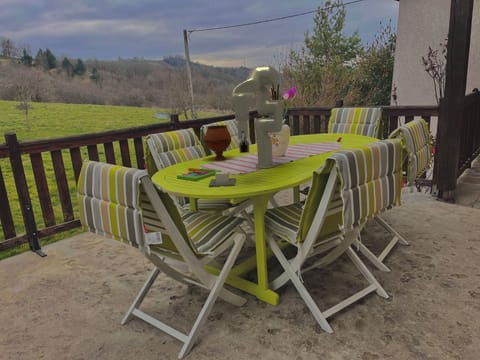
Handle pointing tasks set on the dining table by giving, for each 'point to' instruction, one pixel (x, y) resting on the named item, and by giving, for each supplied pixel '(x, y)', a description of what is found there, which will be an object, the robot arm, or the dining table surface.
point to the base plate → (230, 183)
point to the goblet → (218, 140)
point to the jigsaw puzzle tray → (198, 174)
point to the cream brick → (222, 177)
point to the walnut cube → (247, 147)
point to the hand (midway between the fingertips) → (244, 150)
